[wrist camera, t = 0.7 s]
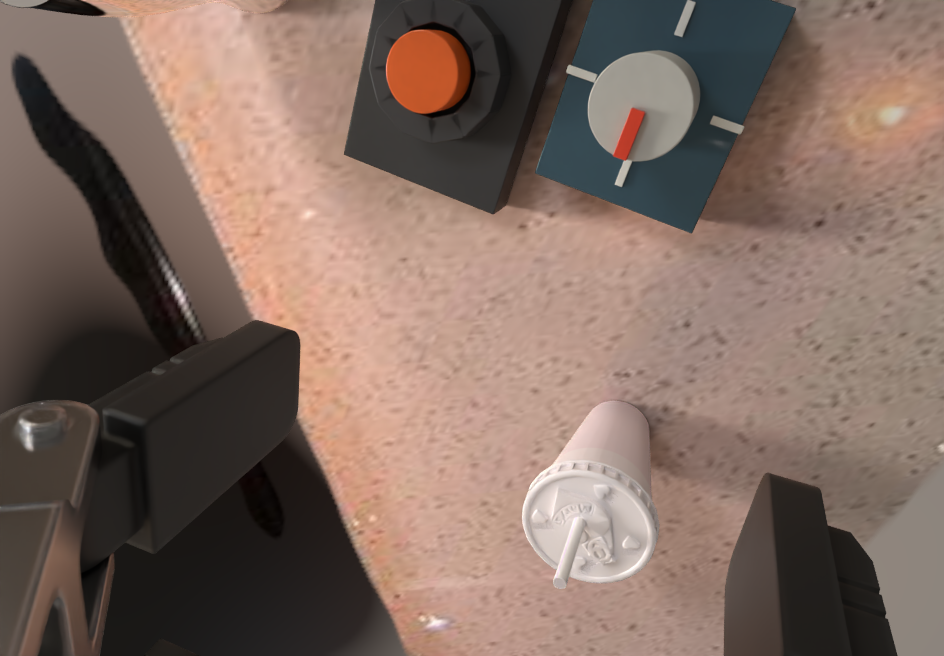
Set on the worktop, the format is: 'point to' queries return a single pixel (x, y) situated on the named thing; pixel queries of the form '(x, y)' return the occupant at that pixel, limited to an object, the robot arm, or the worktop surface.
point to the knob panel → (718, 116)
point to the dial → (643, 105)
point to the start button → (428, 71)
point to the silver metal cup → (138, 6)
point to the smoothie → (596, 500)
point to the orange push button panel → (478, 112)
